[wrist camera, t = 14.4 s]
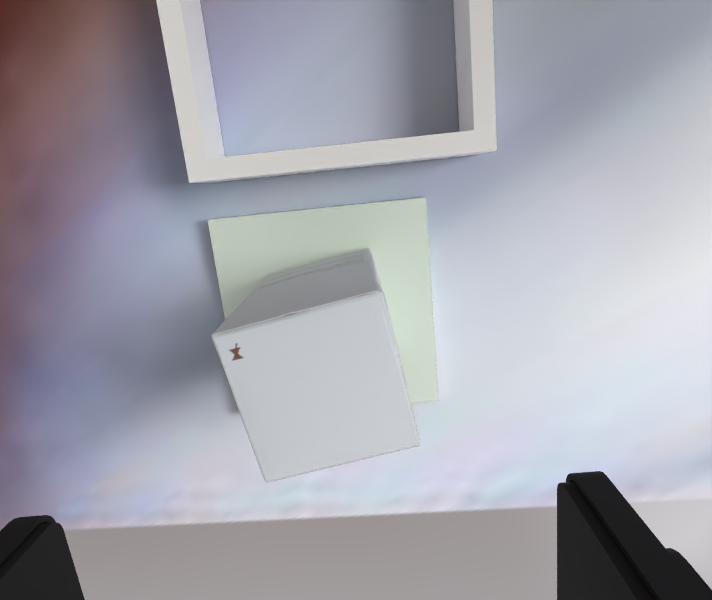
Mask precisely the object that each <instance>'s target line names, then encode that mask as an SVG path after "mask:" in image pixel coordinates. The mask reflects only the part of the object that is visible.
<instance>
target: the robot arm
mask: <svg viewBox="0 0 712 600" xmlns="http://www.w3.org/2000/svg"><path fill="white" fill-rule="evenodd" d="M0 600H85V599H84V596H83V593H82V590H81V586H80V583H79V580H78V576H77V573H76V571H75V566H74V563H73V560H72V557H71V553H70V550H69V547H68V544H67V540H66V537H65V533H64V530H63V528H62V526H61V525H60V524H59V523H56V522H55V520H54V519H53V518H52V517H51V516H48V515H43V516H30V517H19V518H16V519H13V520H12V521H11V522H9V523H8V524H7V525H6V526H5V527H4V528H3V529H2V530H1V531H0ZM557 600H712V590H711V589H710V588H709V586H708V585H707V584H706V583H705V582H704V580H703V579H702V578H701V577H700V576H699V575H698V573H697V572H696V571H695V570H694V568H693V567H692V566H691V565H690V564H689V563H688V562H687V560H686V559H685V558H684V557H683V556H682V555H681V554H680V553H679V552H677V551H675V550H673V549H671V548H667V549H665V547H664V546H663V545H662V544H661V543H660V541H659V540H658V539H657V538H656V536H655V535H654V534H653V533H652V532H651V530H650V529H649V528H648V526H647V525H646V524H645V523H644V521H643V520H642V519H641V518H640V517H639V515H638V514H637V513H636V512H635V510H634V509H633V508H632V507H631V505H630V504H629V503H628V502H627V500H626V499H625V498H624V497H623V496H622V494H621V493H620V492H619V491H618V489H617V488H616V487H615V486H614V484H613V483H612V482H611V481H610V479H609V478H608V477H607V476H606V475H605V474H604V473H603V472H600V471H596V472H584V473H571V474H568V476H567V478H566V483H559V484H558V487H557Z"/></svg>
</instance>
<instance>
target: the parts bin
mask: <svg viewBox="0 0 712 600" xmlns="http://www.w3.org/2000/svg"><path fill="white" fill-rule="evenodd" d="M156 2H157V7H158V13H159V18H160V24H161V29H162V35H163V40H164V46H165V52H166V57H167V63H168V68H169V74H170V79H171V85H172V90H173V96H174V102H175V107H176V113H177V118H178V124H179V129H180V135H181V140H182V146H183V152H184V157H185V163H186V168H187V174H188V179H189V183H213V182H223V181H232V180H242V179H251V178H261V177H270V176H280V175H289V174H299V173H308V172H318V171H327V170H337V169H346V168H356V167H365V166H375V165H384V164H394V163H403V162H413V161H422V160H432V159H441V158H451V157H460V156H470V155H479V154H484V153H488V152H492V151H497V142H496V107H495V72H494V37H493V2H492V0H453V5H454V27H455V48H456V70H457V91H458V113H459V132H452V133H442V134H433V135H424V136H414V137H405V138H396V139H386V140H377V141H367V142H358V143H349V144H339V145H330V146H321V147H311V148H302V149H293V150H283V151H274V152H265V153H255V154H246V155H237V156H227V157H225V153H224V147H223V141H222V135H221V128H220V122H219V116H218V110H217V103H216V97H215V91H214V85H213V78H212V72H211V66H210V60H209V53H208V47H207V41H206V35H205V28H204V22H203V16H202V10H201V3H200V0H156Z"/></svg>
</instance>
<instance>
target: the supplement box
mask: <svg viewBox="0 0 712 600" xmlns="http://www.w3.org/2000/svg"><path fill="white" fill-rule="evenodd" d="M211 339H212V341H213V344H214V346H215V349H216V351H217V354H218V357H219V359H220V362H221V364H222V367H223V369H224V372H225V375H226V377H227V380H228V382H229V385H230V387H231V390H232V393H233V395H234V398H235V401H236V404H237V407H238V409H239V412H240V415H241V418H242V420H243V423H244V426H245V429H246V431H247V434H248V437H249V439H250V442H251V445H252V448H253V450H254V453H255V456H256V458H257V461H258V464H259V467H260V469H261V472H262V475H263V477H264V479H265V481H266V482H272V481H276V480H280V479H284V478H288V477H292V476H296V475H300V474H304V473H308V472H312V471H317V470H321V469H325V468H329V467H333V466H337V465H341V464H345V463H349V462H354V461H358V460H362V459H366V458H370V457H374V456H379V455H383V454H387V453H392V452H396V451H400V450H404V449H408V448H412V447H417V446H419V445H420V438H419V434H418V429H417V425H416V421H415V416H414V412H413V407H412V403H411V398H410V394H409V389H408V385H407V381H406V376H405V372H404V368H403V364H402V360H401V356H400V352H399V348H398V344H397V340H396V336H395V332H394V329H393V325H392V321H391V317H390V313H389V309H388V305H387V301H386V297H385V293H384V291H383V288H382V285H381V281H380V278H379V274H378V271H377V267H376V264H375V260H374V257H373V254H372V251H371V250H370V248H366V249H362V250H358V251H354V252H350V253H346V254H342V255H338V256H335V257H331V258H327V259H324V260H320V261H316V262H313V263H309V264H306V265H302V266H298V267H295V268H291V269H288V270H284V271H280V272H277V273H274V274H270V275H267V277H266V278H265V279H264V280H263V281H262V282H261V283H260V284H259V285H258V286H257V287H256V288H255V289H254V290H253V291H252V292H251V293H250V294H249V296H247V297H246V299H245V300H244V301H243V302H242V303H241V304H240V305H239V306H238V307H237V308H236V309H235V310H234V311H233V312H232V313H231V314H230V315H229V316H228V318H227V319H226V320H225V321H224V322H223V323H222V324H221V325H220V326H219V327H218V328H217V329H216V330H215V331H214V332H213V333H212V334H211Z"/></svg>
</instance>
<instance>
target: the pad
mask: <svg viewBox="0 0 712 600" xmlns="http://www.w3.org/2000/svg"><path fill="white" fill-rule="evenodd" d="M208 225H209V231H210V237H211V243H212V248H213V254H214V260H215V266H216V271H217V277H218V283H219V289H220V294H221V300H222V306H223V312H224V317H225V320H226V319H227V318H228V316H229V315H230V314H231V313H232V312H233V311H234V310H235V309H236V308H237V307H238V306H239V305H240V304H241V303H242V302H243V301H244V300H245V299H246V297H247V296H249V294H250V293H251V292H252V291H253V290H254V289H255V288H256V287H257V286H258V285H259V284H260V283H261V282H262V281H263V280H264V279H265V278H266V277H267V275H270V274H274V273H277V272H280V271H284V270H288V269H291V268H295V267H298V266H302V265H306V264H309V263H313V262H316V261H320V260H324V259H327V258H331V257H335V256H338V255H342V254H346V253H350V252H354V251H358V250H362V249H366V248H370V250H371V251H372V254H373V257H374V260H375V264H376V267H377V271H378V274H379V278H380V281H381V285H382V288H383V291H384V293H385V297H386V301H387V305H388V309H389V313H390V317H391V321H392V325H393V329H394V332H395V336H396V340H397V344H398V348H399V352H400V356H401V360H402V364H403V368H404V372H405V376H406V381H407V385H408V389H409V394H410V398H411V403H417V402H428V401H439V395H438V380H437V364H436V349H435V333H434V318H433V302H432V286H431V271H430V255H429V240H428V224H427V209H426V198H425V197H420V198H411V199H401V200H391V201H381V202H372V203H362V204H352V205H342V206H333V207H323V208H313V209H303V210H294V211H284V212H274V213H264V214H255V215H245V216H235V217H225V218H216V219H210V220H208Z"/></svg>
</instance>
